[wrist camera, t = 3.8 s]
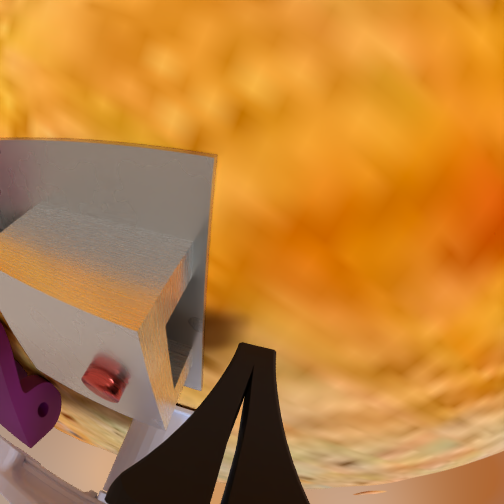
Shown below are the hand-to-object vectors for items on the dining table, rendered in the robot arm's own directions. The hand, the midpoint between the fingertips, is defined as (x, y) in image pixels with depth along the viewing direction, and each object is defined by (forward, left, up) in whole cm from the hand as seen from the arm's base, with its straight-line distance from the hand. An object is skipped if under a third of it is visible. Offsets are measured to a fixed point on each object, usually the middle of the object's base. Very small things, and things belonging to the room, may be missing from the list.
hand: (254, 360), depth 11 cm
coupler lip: (0, +14, -2) cm, 15 cm away
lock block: (0, +7, -1) cm, 7 cm away
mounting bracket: (-19, +27, -2) cm, 33 cm away
